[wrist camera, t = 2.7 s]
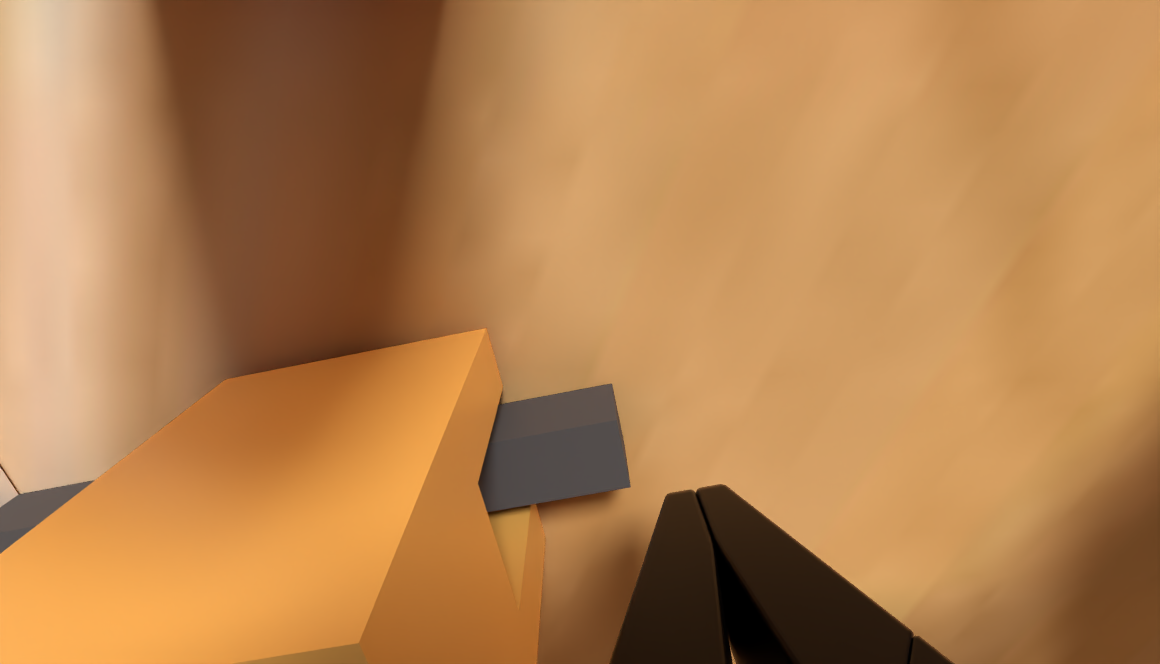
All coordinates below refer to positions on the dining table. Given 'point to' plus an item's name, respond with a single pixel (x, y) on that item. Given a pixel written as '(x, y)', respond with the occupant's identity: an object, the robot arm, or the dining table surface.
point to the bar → (509, 472)
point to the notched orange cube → (294, 529)
